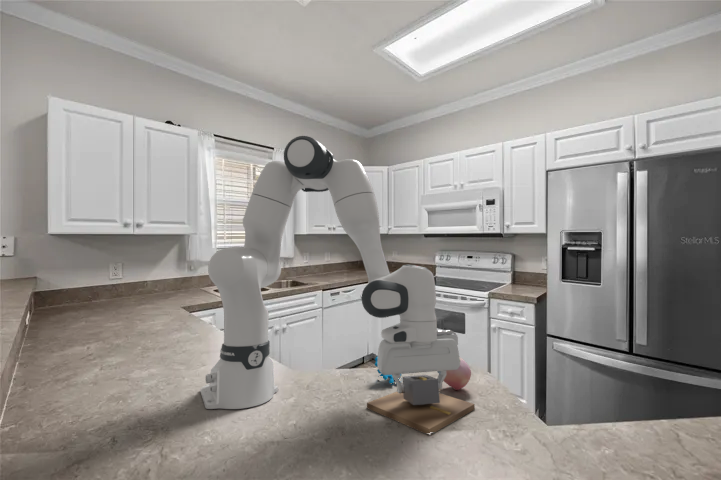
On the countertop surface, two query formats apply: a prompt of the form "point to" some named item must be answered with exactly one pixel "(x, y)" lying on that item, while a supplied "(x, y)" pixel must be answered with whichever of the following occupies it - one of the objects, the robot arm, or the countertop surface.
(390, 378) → the gear
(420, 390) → the square tunnel box
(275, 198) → the robot arm
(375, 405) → the brown square board
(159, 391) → the countertop surface
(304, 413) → the countertop surface
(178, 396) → the countertop surface
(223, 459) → the countertop surface
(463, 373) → the decorative fruit
